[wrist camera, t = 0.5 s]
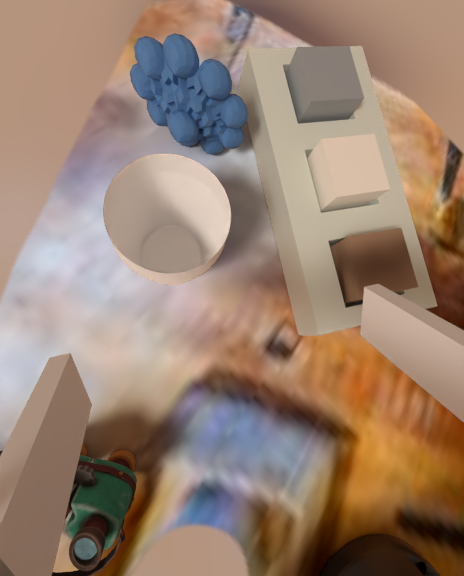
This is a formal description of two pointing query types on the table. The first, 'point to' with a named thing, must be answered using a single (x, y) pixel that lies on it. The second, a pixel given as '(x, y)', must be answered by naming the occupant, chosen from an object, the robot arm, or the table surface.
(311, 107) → the slate key
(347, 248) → the walnut key
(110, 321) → the table surface
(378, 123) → the key panel
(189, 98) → the grapes
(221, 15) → the table surface
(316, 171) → the ivory key
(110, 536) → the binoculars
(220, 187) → the cup
